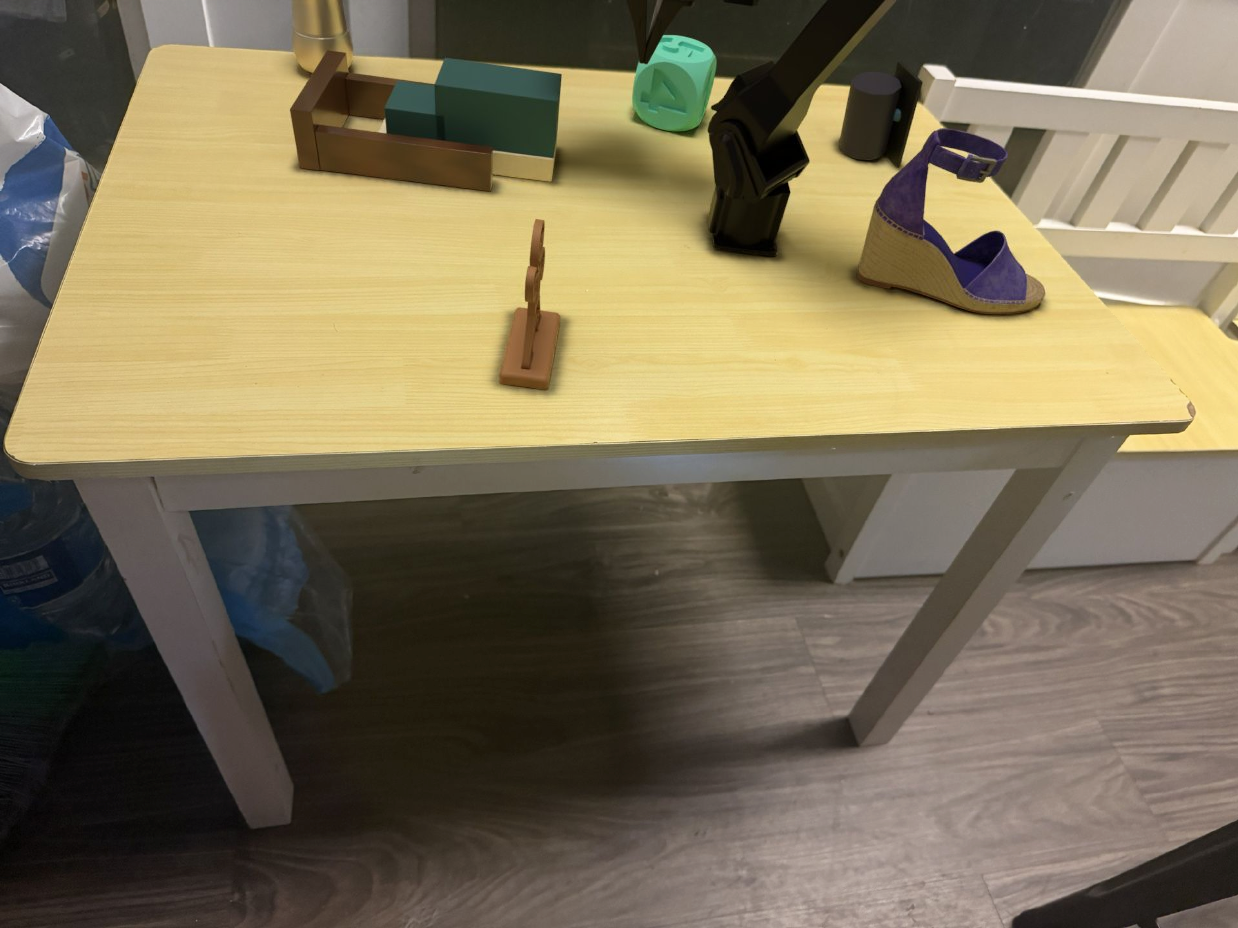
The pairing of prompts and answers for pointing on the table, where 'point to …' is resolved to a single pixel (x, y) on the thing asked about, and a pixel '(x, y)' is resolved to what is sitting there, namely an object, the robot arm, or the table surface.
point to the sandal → (919, 253)
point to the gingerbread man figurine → (531, 328)
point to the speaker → (880, 114)
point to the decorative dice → (675, 84)
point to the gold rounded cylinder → (319, 31)
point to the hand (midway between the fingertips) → (643, 62)
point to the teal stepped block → (484, 113)
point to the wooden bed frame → (374, 134)
